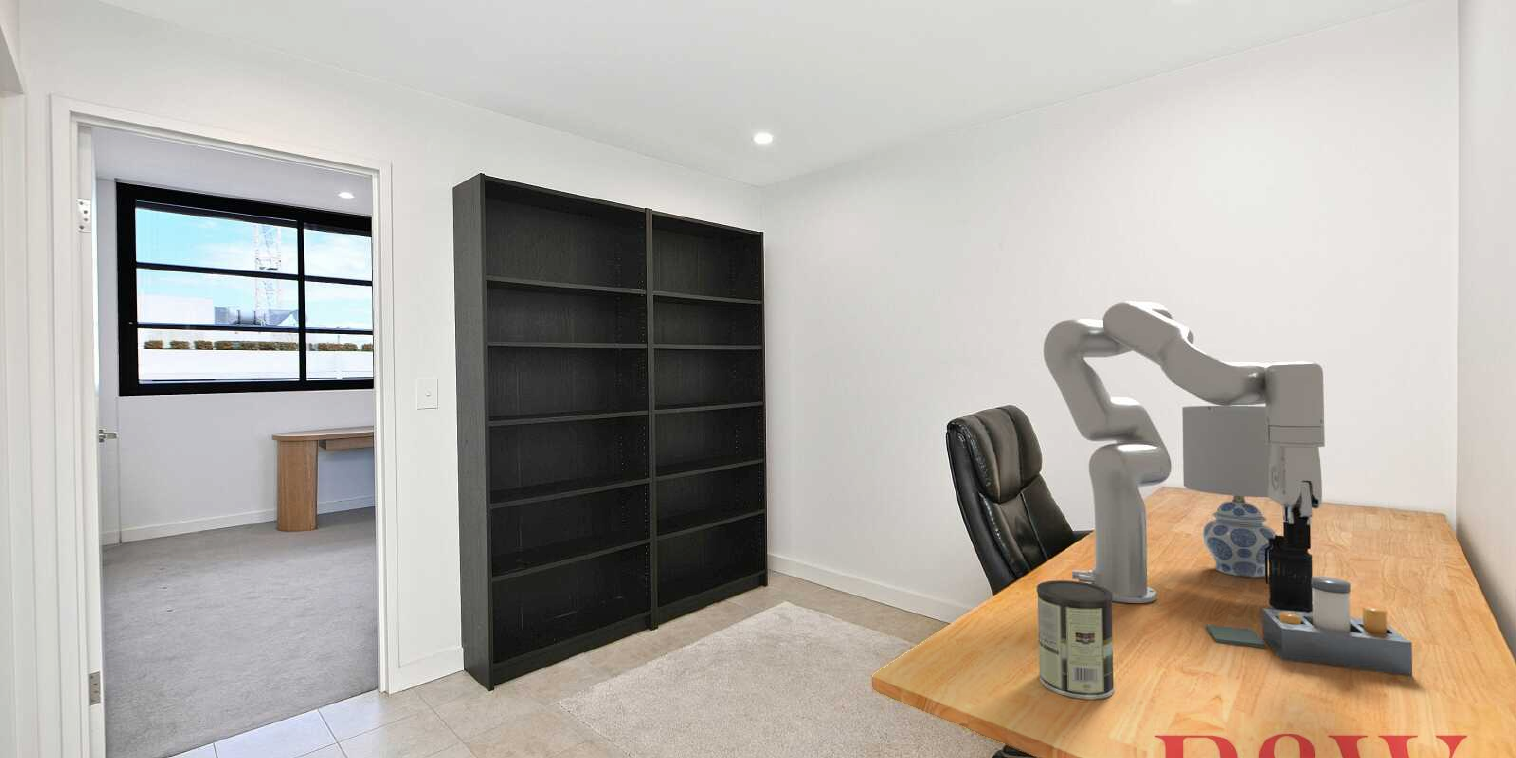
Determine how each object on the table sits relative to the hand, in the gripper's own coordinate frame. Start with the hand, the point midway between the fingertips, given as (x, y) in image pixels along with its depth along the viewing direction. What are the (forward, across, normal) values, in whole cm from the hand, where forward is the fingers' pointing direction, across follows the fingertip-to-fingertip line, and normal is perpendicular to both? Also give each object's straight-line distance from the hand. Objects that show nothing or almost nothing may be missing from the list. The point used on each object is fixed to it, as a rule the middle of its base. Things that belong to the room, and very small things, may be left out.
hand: (1297, 547), depth 109 cm
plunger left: (+16, 0, -1) cm, 16 cm away
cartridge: (+17, 0, +4) cm, 18 cm away
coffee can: (+17, +26, -34) cm, 47 cm away
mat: (+17, -3, -8) cm, 19 cm away
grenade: (+17, -20, +4) cm, 27 cm away
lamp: (+17, -49, +3) cm, 52 cm away
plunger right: (+14, 0, +10) cm, 17 cm away
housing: (+17, 0, +4) cm, 18 cm away
